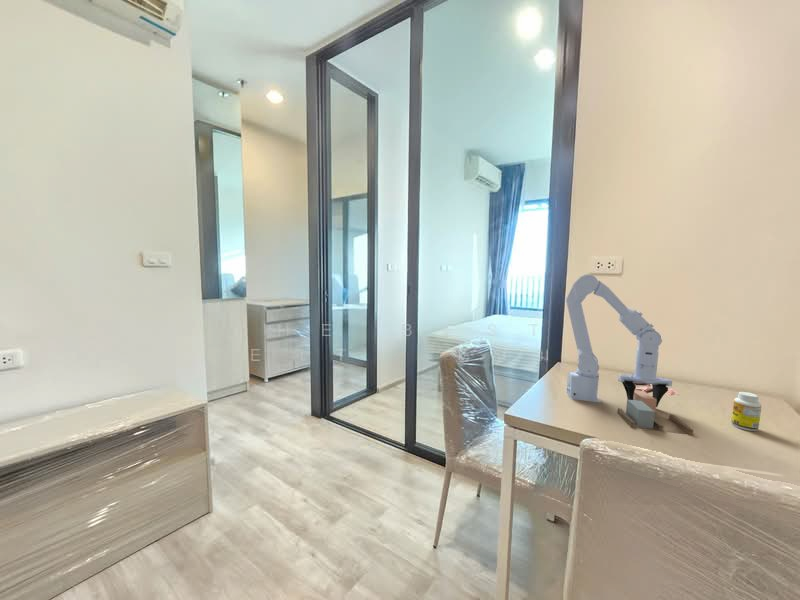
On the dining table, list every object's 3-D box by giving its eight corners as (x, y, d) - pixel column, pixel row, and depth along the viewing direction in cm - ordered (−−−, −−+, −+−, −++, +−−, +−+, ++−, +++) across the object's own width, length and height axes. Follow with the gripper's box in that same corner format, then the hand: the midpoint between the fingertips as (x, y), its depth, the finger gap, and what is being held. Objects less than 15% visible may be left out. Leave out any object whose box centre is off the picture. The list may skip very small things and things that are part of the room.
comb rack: (630, 428, 94) (631, 422, 94) (617, 414, 104) (617, 408, 103) (692, 436, 90) (693, 429, 90) (672, 421, 100) (673, 414, 100)
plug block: (641, 413, 105) (642, 398, 105) (629, 403, 113) (630, 389, 113) (655, 414, 104) (656, 399, 104) (642, 405, 112) (643, 390, 112)
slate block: (637, 426, 94) (638, 409, 94) (625, 415, 102) (627, 399, 102) (653, 428, 93) (654, 411, 93) (640, 416, 101) (641, 401, 101)
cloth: (690, 398, 121) (691, 392, 121) (630, 396, 121) (631, 390, 121) (649, 380, 141) (649, 374, 141) (598, 378, 142) (599, 373, 141)
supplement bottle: (729, 421, 101) (733, 389, 100) (756, 427, 97) (760, 394, 96) (732, 427, 96) (736, 394, 96) (759, 434, 93) (764, 399, 92)
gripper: (625, 365, 105) (622, 406, 107) (679, 370, 102) (674, 412, 103) (617, 360, 112) (614, 398, 113) (667, 364, 108) (663, 403, 110)
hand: (642, 404), depth 109 cm, fingers open, 6 cm apart
